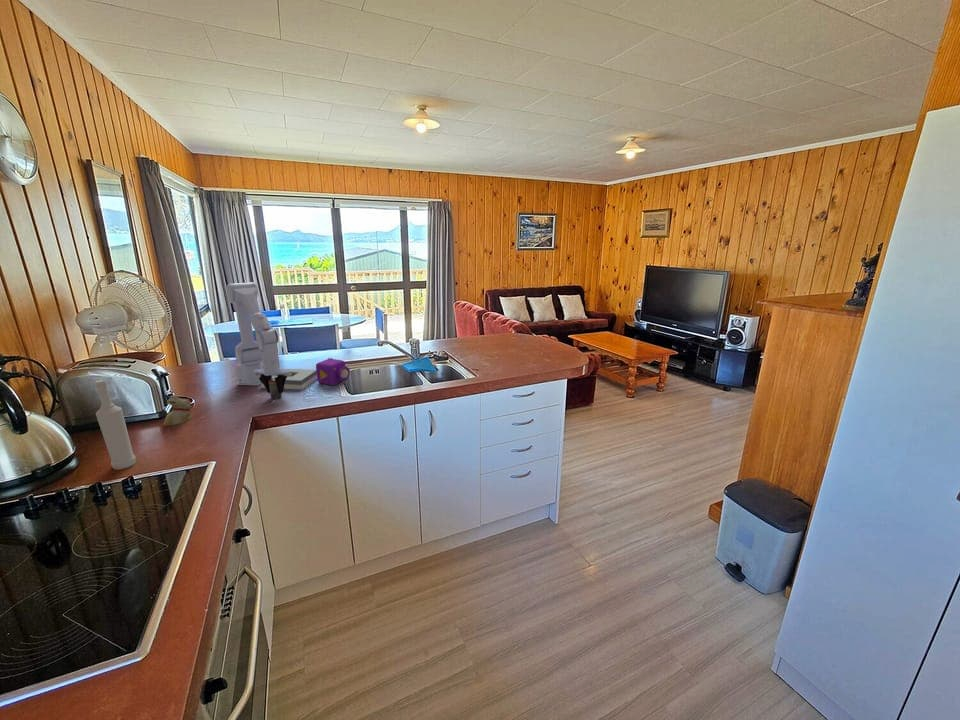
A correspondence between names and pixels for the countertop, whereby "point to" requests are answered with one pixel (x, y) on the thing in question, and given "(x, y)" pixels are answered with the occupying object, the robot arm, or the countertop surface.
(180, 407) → the chocolate bunny
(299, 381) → the white flat box
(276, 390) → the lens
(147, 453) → the countertop surface
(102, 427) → the bottle
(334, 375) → the toy camera
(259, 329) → the robot arm
